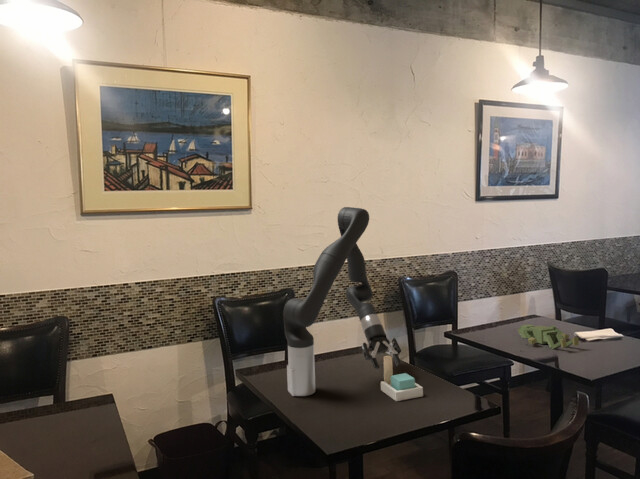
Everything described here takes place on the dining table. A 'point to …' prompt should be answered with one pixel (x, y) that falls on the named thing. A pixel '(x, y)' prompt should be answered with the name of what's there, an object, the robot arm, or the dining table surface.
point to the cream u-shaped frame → (402, 392)
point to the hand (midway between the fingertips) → (388, 366)
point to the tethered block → (396, 376)
